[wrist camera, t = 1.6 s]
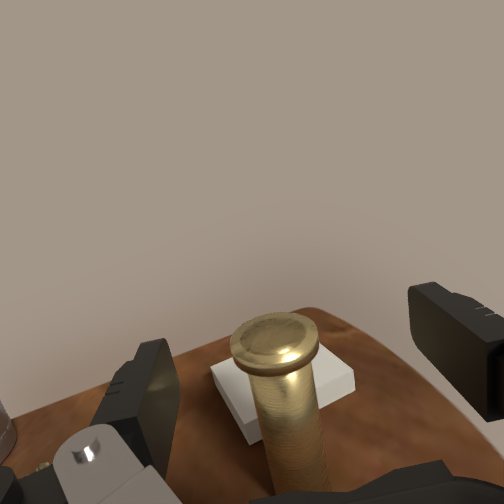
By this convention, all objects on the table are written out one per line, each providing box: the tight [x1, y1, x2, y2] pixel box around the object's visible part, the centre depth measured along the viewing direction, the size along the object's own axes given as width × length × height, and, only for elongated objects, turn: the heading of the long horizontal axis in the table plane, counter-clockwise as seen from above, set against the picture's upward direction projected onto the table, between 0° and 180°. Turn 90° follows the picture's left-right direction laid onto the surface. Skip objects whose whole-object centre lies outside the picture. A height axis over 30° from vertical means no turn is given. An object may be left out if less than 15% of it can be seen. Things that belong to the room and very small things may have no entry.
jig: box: [211, 343, 355, 445], centre depth 39 cm, size 12×10×2 cm
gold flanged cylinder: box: [230, 312, 331, 495], centre depth 26 cm, size 6×6×14 cm
